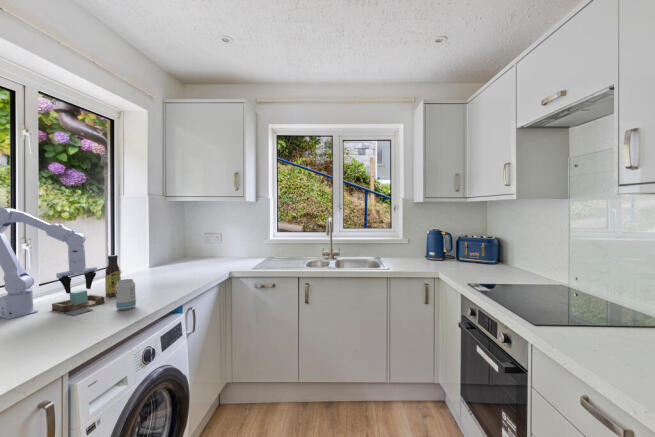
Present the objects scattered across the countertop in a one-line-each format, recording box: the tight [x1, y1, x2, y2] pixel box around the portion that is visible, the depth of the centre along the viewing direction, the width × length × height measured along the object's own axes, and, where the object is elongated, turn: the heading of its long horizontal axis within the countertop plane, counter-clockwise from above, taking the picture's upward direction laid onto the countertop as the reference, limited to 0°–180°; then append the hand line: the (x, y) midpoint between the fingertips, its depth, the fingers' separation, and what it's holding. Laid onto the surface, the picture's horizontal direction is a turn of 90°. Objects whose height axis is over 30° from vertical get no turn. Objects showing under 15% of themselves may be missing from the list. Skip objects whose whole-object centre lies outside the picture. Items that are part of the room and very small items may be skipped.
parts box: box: [51, 294, 105, 314], centre depth 135 cm, size 15×10×3 cm, turn 155°
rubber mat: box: [63, 307, 94, 317], centre depth 127 cm, size 7×7×1 cm
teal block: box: [69, 289, 88, 305], centre depth 135 cm, size 4×4×5 cm
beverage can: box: [115, 278, 137, 311], centre depth 131 cm, size 7×7×12 cm
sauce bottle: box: [104, 254, 122, 297], centre depth 152 cm, size 7×6×20 cm
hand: (78, 290), depth 135 cm, fingers open, 7 cm apart
